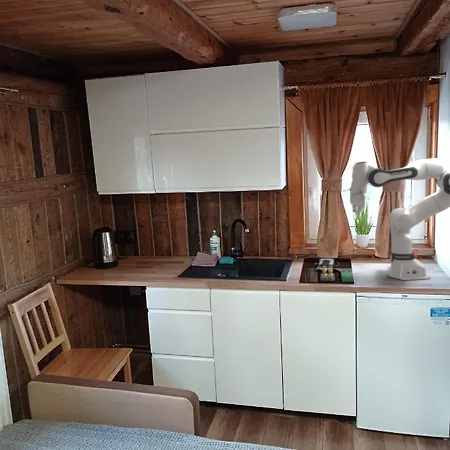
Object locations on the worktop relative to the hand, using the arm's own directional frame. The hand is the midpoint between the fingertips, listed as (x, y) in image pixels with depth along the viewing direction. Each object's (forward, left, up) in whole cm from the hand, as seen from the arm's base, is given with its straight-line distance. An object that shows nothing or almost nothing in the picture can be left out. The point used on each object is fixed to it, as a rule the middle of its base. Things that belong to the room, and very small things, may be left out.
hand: (356, 213), depth 269 cm
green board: (+6, +5, -37) cm, 38 cm away
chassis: (+17, +5, -37) cm, 41 cm away
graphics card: (+19, -20, -38) cm, 47 cm away
